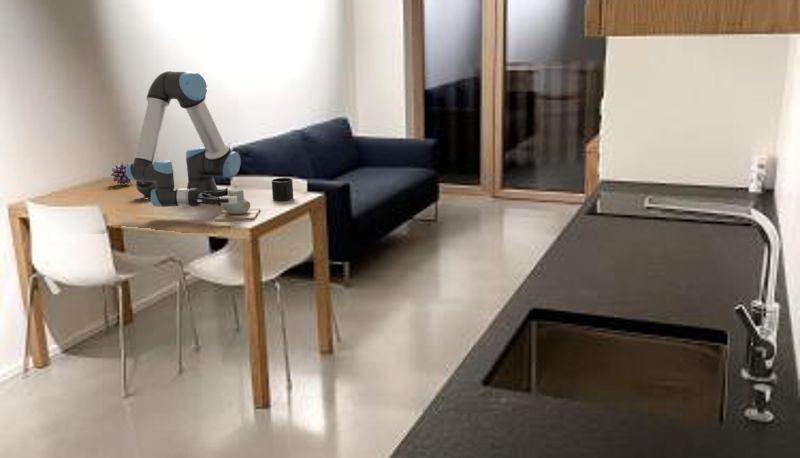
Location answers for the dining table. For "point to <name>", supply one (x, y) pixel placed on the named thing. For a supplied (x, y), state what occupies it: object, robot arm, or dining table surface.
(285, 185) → the mug
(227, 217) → the coaster board
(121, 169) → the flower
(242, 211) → the air freshener
